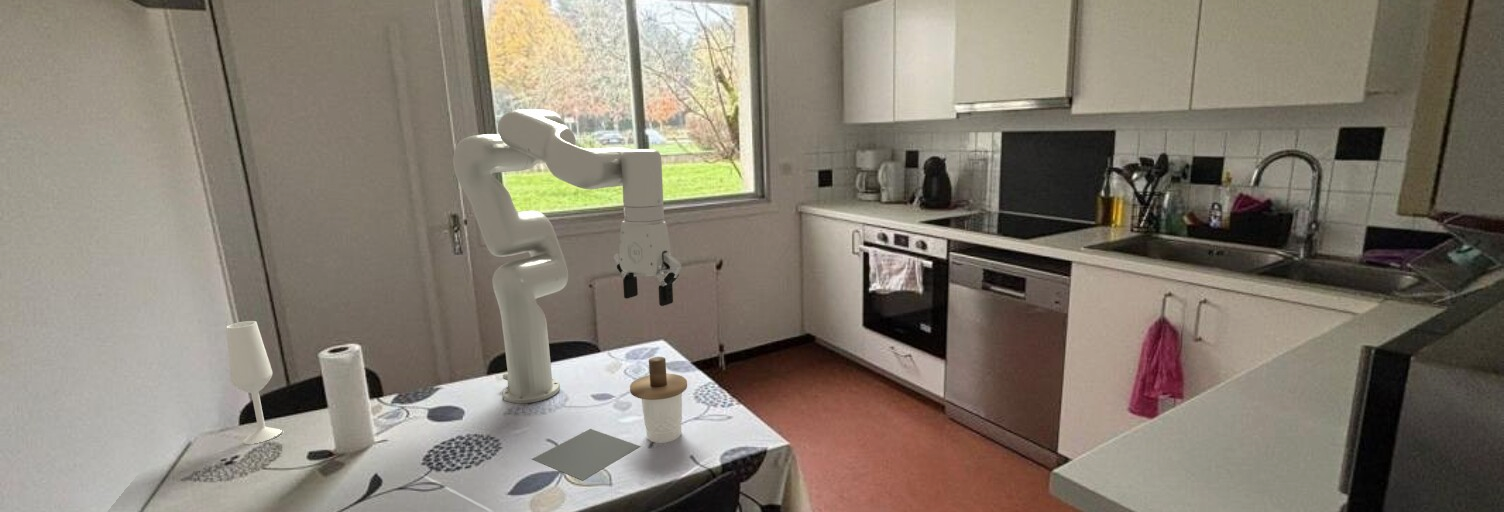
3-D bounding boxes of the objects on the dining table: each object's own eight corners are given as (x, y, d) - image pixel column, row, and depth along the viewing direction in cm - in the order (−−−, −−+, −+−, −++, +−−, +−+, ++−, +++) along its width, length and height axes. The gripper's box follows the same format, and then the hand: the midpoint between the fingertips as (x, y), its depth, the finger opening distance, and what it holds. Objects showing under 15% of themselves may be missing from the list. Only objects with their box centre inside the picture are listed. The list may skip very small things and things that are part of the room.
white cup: (677, 447, 120) (674, 397, 118) (637, 444, 121) (634, 395, 119) (689, 428, 127) (686, 381, 125) (652, 425, 129) (649, 379, 127)
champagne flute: (281, 438, 128) (260, 325, 124) (240, 447, 125) (216, 331, 121) (285, 426, 134) (265, 317, 130) (245, 434, 131) (223, 323, 126)
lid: (618, 392, 121) (615, 363, 120) (657, 373, 130) (655, 346, 129) (660, 404, 115) (658, 374, 114) (698, 383, 124) (697, 355, 123)
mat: (531, 460, 116) (531, 458, 116) (590, 430, 127) (590, 428, 127) (582, 482, 108) (582, 480, 108) (640, 448, 120) (640, 446, 120)
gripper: (598, 213, 123) (604, 298, 126) (663, 220, 113) (667, 312, 116) (627, 209, 129) (631, 290, 132) (691, 215, 119) (694, 302, 122)
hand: (648, 300), depth 124 cm, fingers open, 9 cm apart
